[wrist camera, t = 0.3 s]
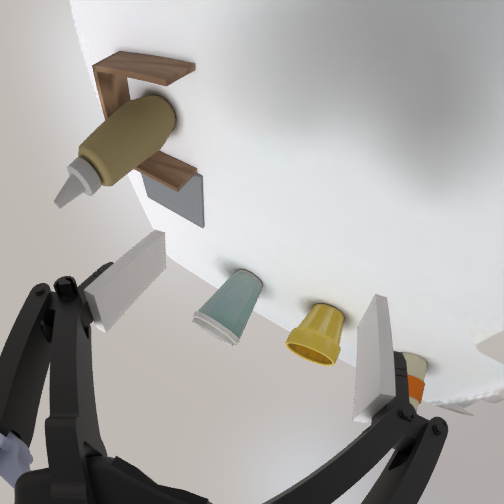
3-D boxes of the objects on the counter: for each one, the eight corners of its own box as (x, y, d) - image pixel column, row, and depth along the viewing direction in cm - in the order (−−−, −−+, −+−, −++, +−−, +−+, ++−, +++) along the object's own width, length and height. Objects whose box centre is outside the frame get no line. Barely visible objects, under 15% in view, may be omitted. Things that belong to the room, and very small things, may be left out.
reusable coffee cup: (378, 347, 54) (352, 408, 48) (428, 350, 44) (404, 420, 37) (395, 367, 59) (373, 420, 52) (438, 371, 49) (417, 430, 42)
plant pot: (347, 330, 55) (329, 370, 51) (304, 311, 59) (284, 350, 55) (358, 312, 47) (338, 360, 42) (308, 291, 50) (284, 336, 46)
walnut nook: (119, 51, 25) (92, 65, 23) (195, 63, 23) (165, 79, 21) (136, 144, 41) (117, 160, 38) (197, 172, 39) (178, 192, 37)
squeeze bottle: (153, 136, 37) (65, 222, 29) (132, 91, 31) (30, 176, 22) (191, 136, 33) (91, 237, 25) (170, 83, 27) (46, 180, 19)
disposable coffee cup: (274, 297, 61) (240, 355, 54) (235, 283, 66) (201, 335, 59) (264, 271, 53) (223, 337, 46) (220, 256, 58) (180, 314, 52)
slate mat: (136, 144, 41) (134, 146, 40) (202, 175, 39) (200, 178, 39) (149, 195, 53) (147, 197, 53) (204, 226, 51) (202, 228, 51)
